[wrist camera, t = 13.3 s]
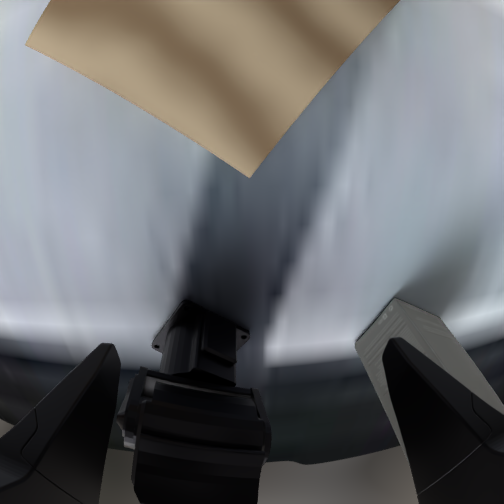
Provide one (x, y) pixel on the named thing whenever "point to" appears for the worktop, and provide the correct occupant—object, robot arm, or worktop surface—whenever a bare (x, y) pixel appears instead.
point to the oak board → (211, 60)
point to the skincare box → (426, 341)
